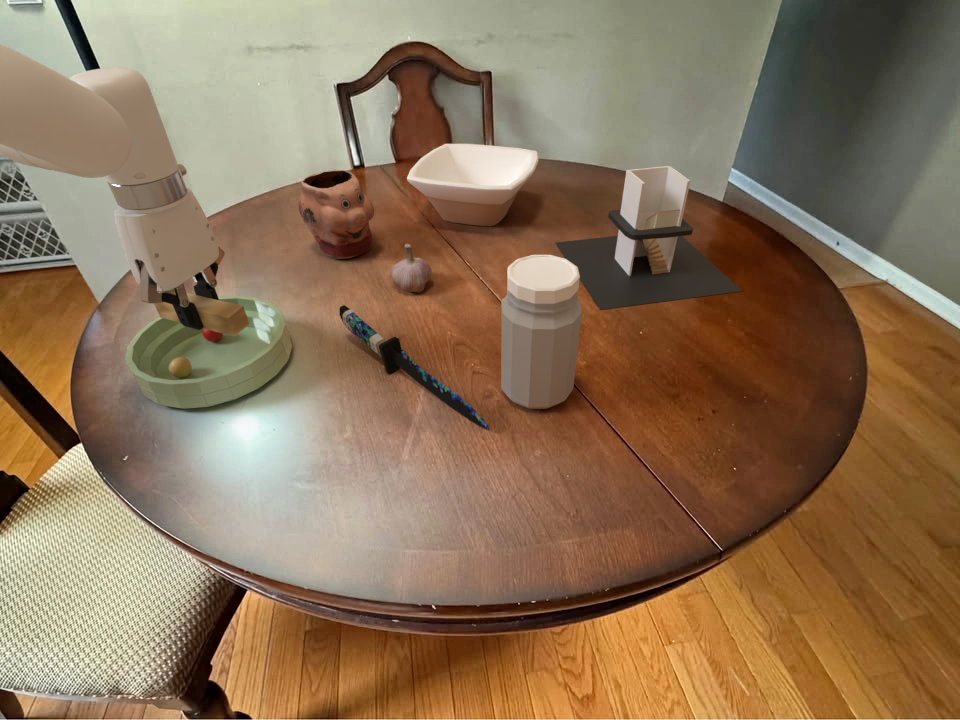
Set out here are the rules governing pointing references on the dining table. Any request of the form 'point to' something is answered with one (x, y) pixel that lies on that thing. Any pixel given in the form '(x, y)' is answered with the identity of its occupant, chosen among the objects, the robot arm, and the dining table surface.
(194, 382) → the shallow round dish
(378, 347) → the knife
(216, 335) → the tomato
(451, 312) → the dining table surface
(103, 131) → the robot arm
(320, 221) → the decorative planter
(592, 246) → the model building
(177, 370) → the chickpea
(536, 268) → the jar
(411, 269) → the garlic bulb
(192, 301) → the stick
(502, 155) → the bowl
